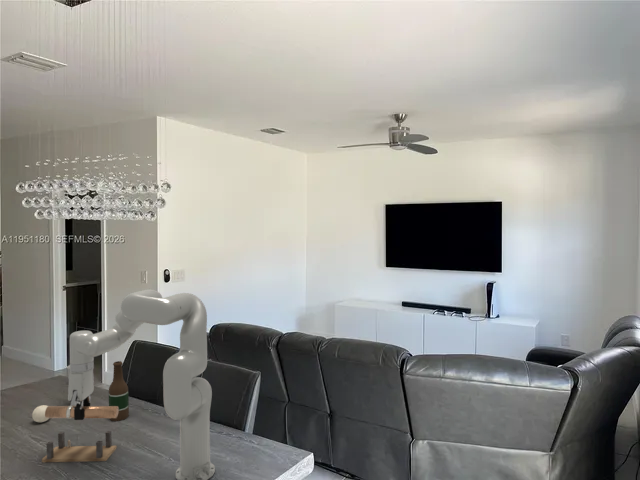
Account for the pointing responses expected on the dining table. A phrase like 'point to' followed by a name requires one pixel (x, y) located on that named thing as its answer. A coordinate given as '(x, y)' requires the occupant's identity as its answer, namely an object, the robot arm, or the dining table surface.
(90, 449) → the base
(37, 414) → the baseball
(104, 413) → the tube
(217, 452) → the dining table surface
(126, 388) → the beer bottle
